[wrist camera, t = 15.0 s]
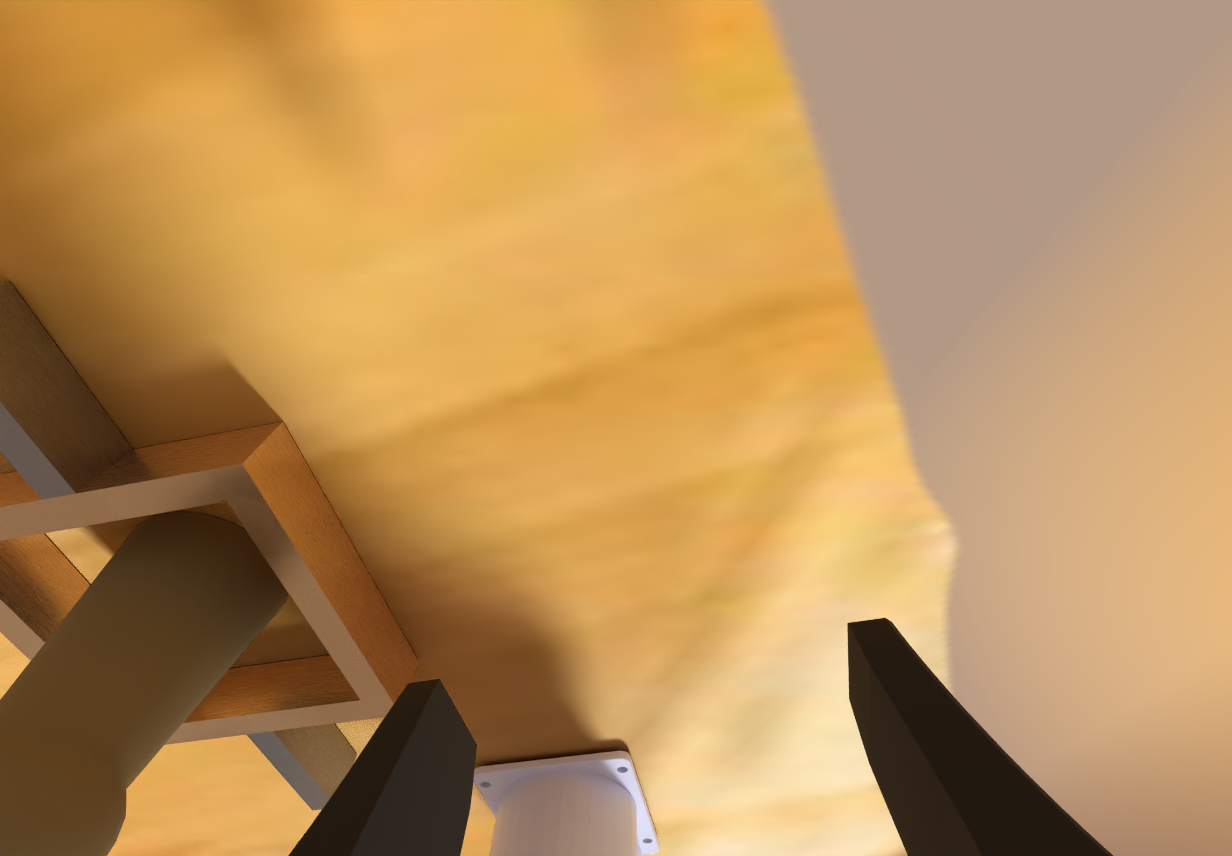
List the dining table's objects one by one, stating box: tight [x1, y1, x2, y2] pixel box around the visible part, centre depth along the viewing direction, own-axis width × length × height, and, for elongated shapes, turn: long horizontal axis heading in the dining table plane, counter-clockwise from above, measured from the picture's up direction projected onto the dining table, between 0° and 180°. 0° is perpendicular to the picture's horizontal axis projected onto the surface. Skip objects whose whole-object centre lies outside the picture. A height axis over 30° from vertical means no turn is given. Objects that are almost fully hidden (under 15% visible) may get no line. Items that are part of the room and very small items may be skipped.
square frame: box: [0, 281, 419, 810], centre depth 23 cm, size 24×12×2 cm, turn 12°
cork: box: [0, 511, 288, 856], centre depth 19 cm, size 6×6×11 cm
